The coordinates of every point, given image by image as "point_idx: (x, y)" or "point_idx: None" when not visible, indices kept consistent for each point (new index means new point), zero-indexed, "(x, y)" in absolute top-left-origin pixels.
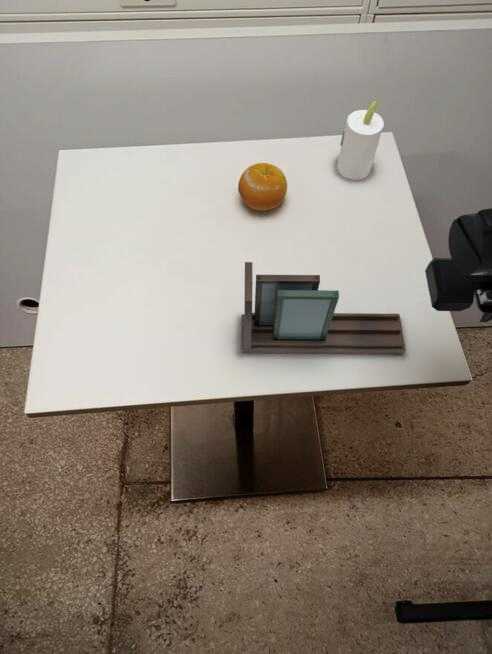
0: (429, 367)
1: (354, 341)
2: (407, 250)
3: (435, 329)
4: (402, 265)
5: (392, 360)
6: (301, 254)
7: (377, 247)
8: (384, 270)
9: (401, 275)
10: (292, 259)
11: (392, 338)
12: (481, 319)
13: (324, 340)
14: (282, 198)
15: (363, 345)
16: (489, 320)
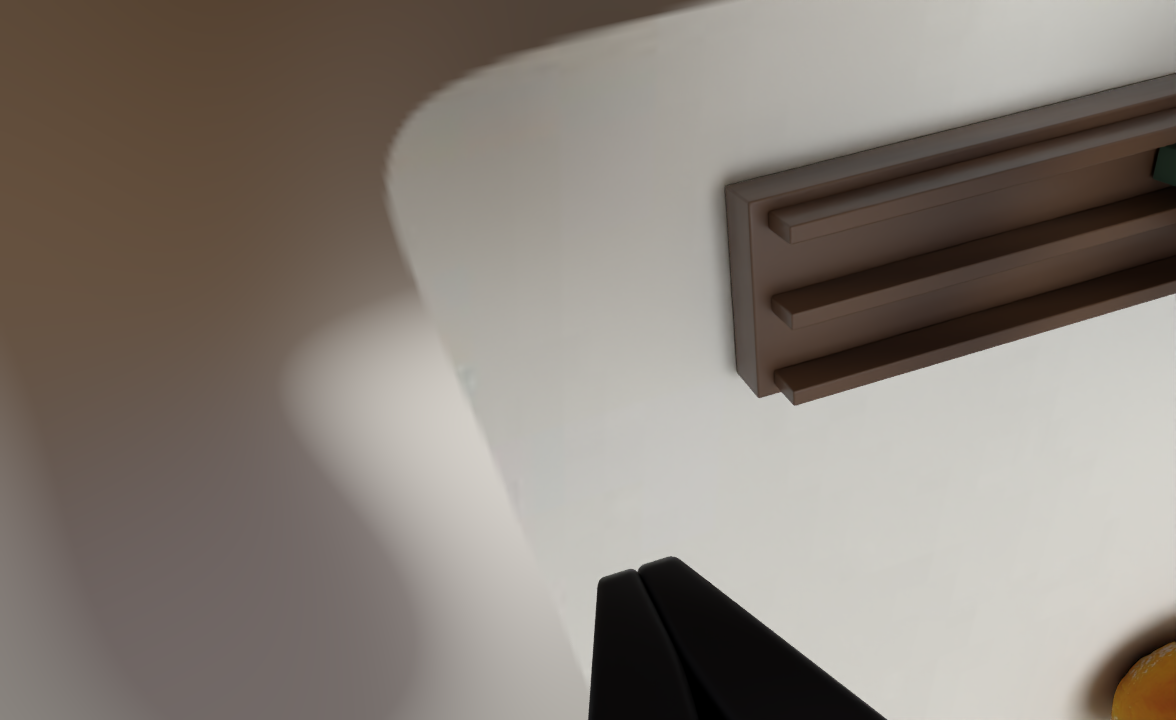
0: (572, 133)
1: (1058, 172)
2: None
3: (542, 379)
4: None
5: (782, 129)
6: (1083, 533)
7: None
8: (773, 581)
9: None
10: (1121, 503)
11: (812, 256)
12: (755, 620)
13: (1173, 145)
14: (1167, 715)
15: (998, 163)
16: (609, 634)
